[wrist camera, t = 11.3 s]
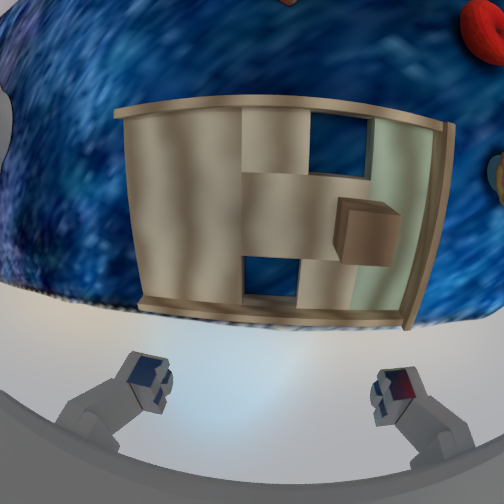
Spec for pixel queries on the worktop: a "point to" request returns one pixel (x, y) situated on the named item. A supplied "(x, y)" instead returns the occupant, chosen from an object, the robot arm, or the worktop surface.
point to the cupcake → (497, 175)
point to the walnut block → (365, 232)
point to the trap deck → (277, 208)
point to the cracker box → (288, 2)
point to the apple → (483, 30)
